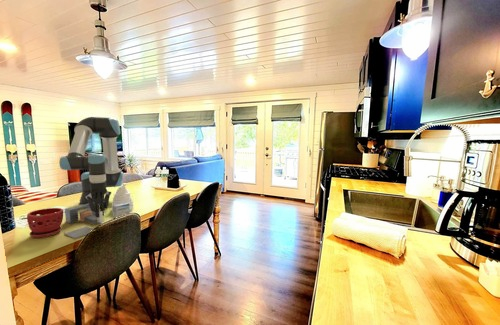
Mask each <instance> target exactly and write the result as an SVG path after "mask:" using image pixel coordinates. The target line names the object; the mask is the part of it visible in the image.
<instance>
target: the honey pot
mask: <svg viewBox="0 0 500 325" xmlns="http://www.w3.org/2000/svg"><path fill="white" fill-rule="evenodd" d="M127 185H128V184H127V182H122V185H121V186H118V188H117V190H116V192H114V193H113V198H112V201H111V212H112V213H113V205H118V204H122V203H129V205H130V211H132V210H134V200H133V198H132V196H131V193H132V192H131V191H130V190H128V188H127V187H126V186H127Z"/></svg>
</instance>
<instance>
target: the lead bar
mask: <svg viewBox="0 0 500 325" xmlns="http://www.w3.org/2000/svg"><path fill="white" fill-rule="evenodd" d="M84 220H85V222H84V223H88V224H91V225H93V226H96V225H100V224H101V223H99V222H97V217H96V216H94V215H90V216H87V217H84Z"/></svg>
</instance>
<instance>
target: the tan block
mask: <svg viewBox="0 0 500 325" xmlns="http://www.w3.org/2000/svg"><path fill="white" fill-rule="evenodd" d="M90 215H93V213H92V211H89V210H87V209H85V210H83V211H80V212H79V222H84V223H86V222H85V220H84V217H87V216H90Z"/></svg>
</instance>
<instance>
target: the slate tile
mask: <svg viewBox="0 0 500 325" xmlns="http://www.w3.org/2000/svg"><path fill="white" fill-rule="evenodd" d="M93 229H94V228H92V227H89V226H84V227H80V228H77V229H74V230H72V231H67V232H65V233H64V234H63V235H65V236H67V237H69V238H72V239H74V240H76V239H79V238H82V237H85V236H88V235H89V234H88V233H89V232H90V231H91V230H93ZM87 234H88V235H87Z"/></svg>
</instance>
